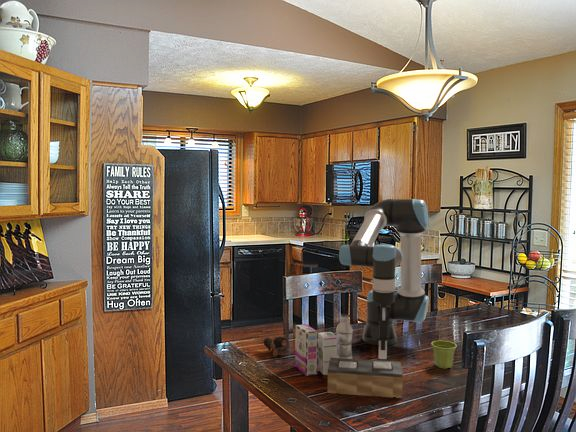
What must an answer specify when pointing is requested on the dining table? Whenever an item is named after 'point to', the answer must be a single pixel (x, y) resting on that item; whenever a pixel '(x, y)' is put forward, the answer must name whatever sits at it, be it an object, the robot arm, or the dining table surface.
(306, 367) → the candy bar box
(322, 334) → the syrup box
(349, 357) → the plastic bottle
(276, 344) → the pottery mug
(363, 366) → the socket block
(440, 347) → the plant pot
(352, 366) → the seated peg
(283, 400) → the dining table surface
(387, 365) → the peg
